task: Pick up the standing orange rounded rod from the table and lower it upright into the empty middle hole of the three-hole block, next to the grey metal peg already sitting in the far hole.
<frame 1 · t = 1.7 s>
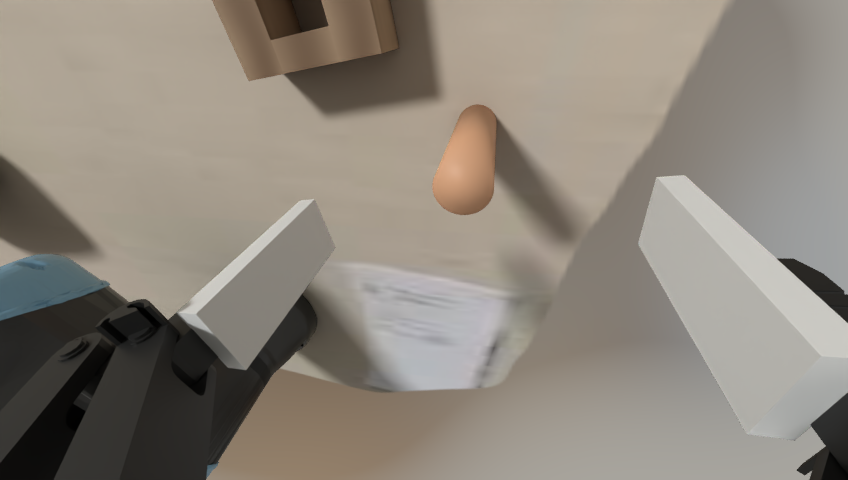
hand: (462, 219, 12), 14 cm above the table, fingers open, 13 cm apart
orange rounded rod: (476, 125, 23), on the table
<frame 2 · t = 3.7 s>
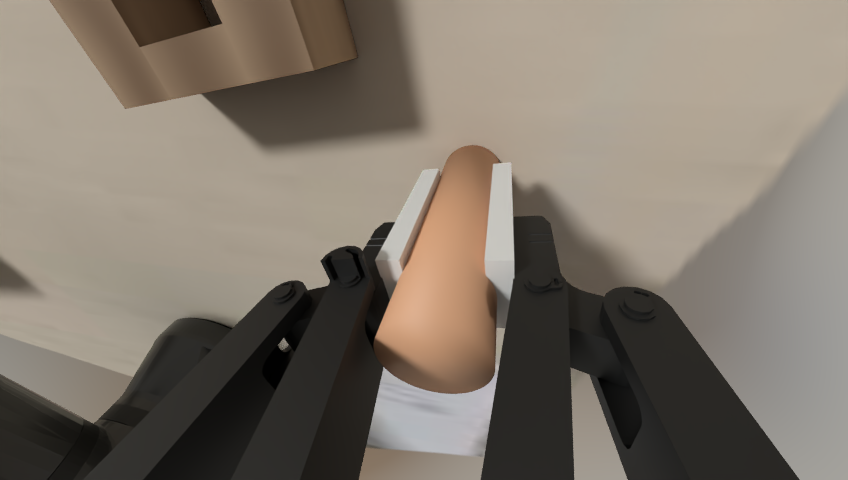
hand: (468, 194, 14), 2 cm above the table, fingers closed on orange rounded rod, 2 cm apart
orange rounded rod: (472, 173, 16), on the table, touching gripper
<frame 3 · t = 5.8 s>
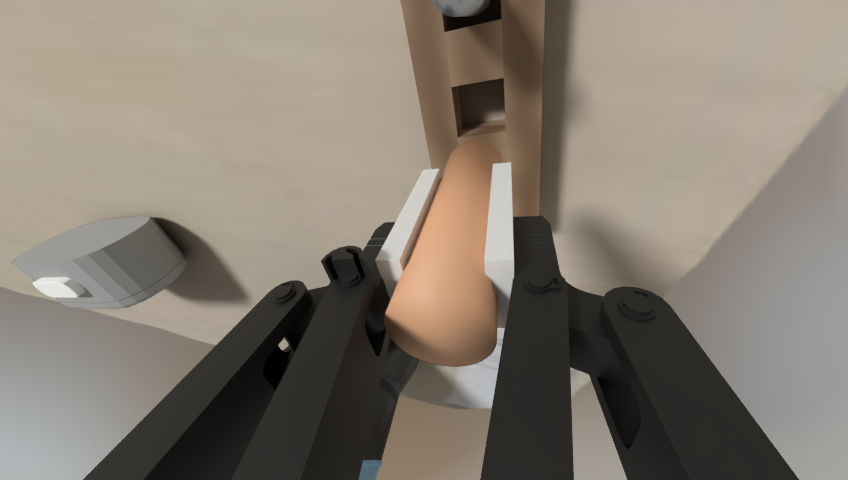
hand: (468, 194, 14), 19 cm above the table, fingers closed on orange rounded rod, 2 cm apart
alarm clock: (147, 237, 53), on the table
orange rounded rod: (474, 167, 16), point 16 cm above the table, touching gripper
hole block: (482, 99, 29), on the table
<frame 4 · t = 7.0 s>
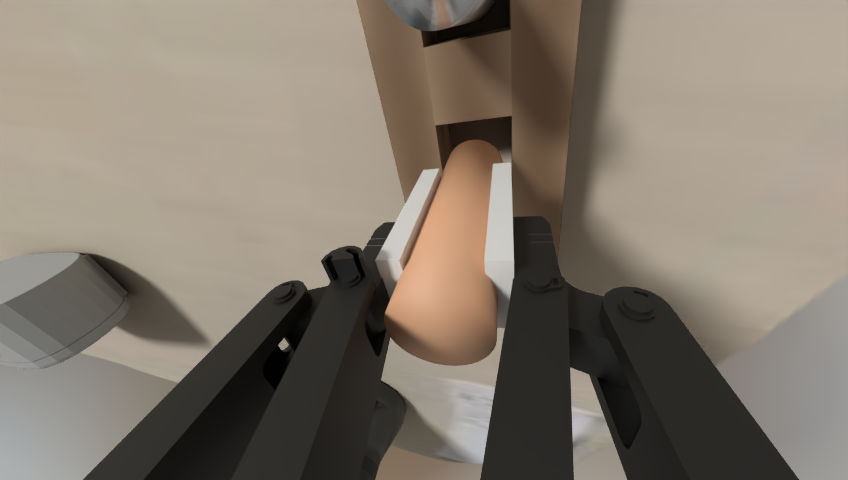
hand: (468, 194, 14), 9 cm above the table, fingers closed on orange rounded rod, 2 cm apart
alarm clock: (85, 273, 45), on the table
orange rounded rod: (474, 166, 17), point 6 cm above the table, touching gripper
hole block: (479, 136, 21), on the table
when the fingers open (5 cm above the table, at t = 8.1 s): orange rounded rod drops 2 cm, resting in hole block.
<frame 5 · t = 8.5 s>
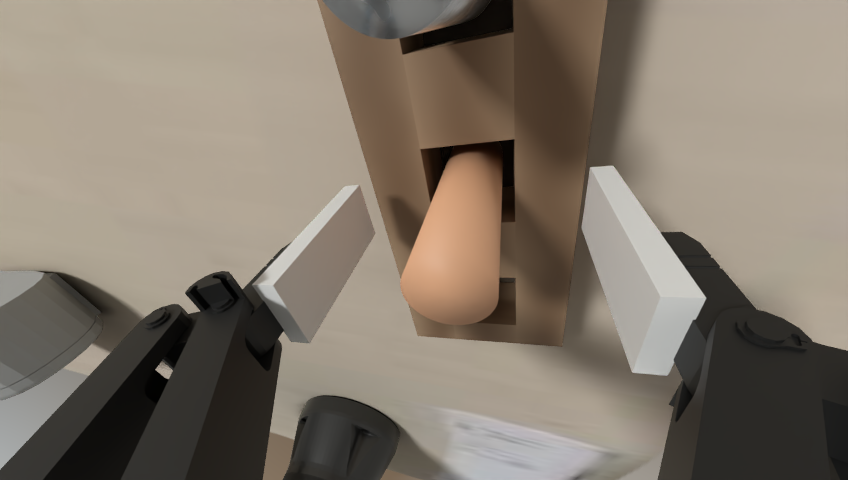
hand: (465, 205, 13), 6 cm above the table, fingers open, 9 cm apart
alarm clock: (56, 291, 42), on the table
orange rounded rod: (476, 157, 18), resting in hole block
hole block: (476, 156, 18), on the table
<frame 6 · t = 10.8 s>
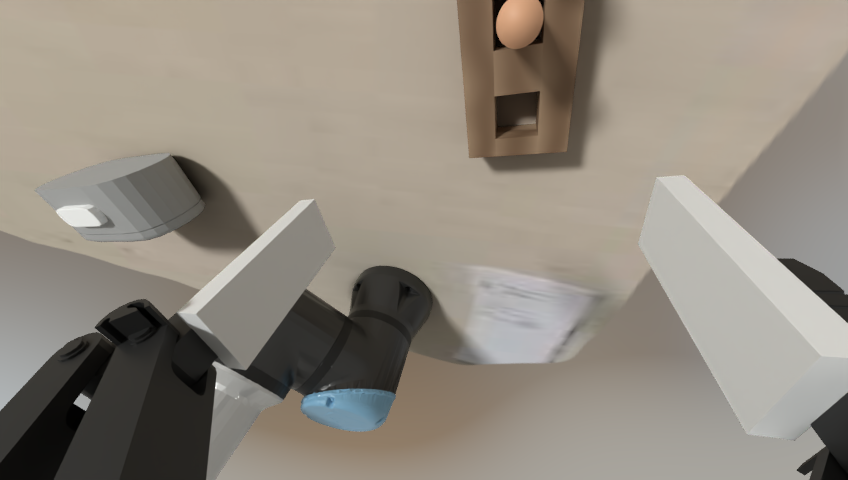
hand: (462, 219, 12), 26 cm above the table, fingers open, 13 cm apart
alarm clock: (165, 179, 54), on the table
orange rounded rod: (518, 16, 28), resting in hole block
hole block: (517, 16, 28), on the table
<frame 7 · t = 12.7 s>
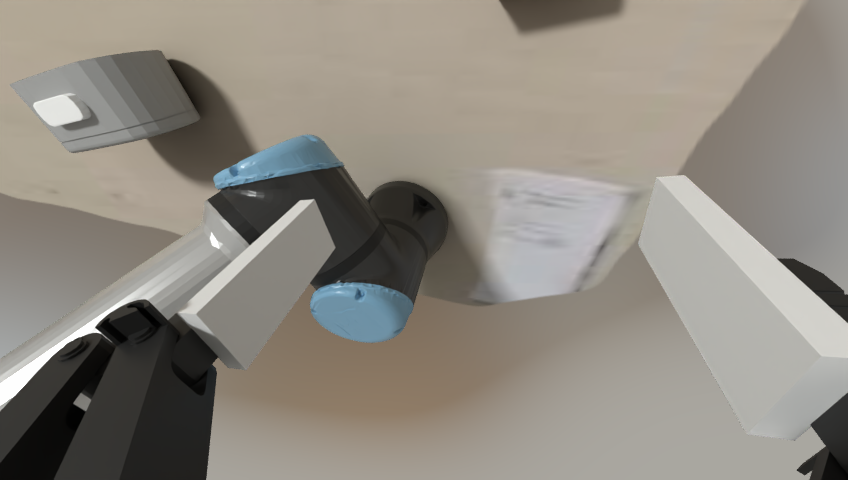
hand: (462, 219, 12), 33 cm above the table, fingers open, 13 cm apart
alarm clock: (156, 94, 50), on the table
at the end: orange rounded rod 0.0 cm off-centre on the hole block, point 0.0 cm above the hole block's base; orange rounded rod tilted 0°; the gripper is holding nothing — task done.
